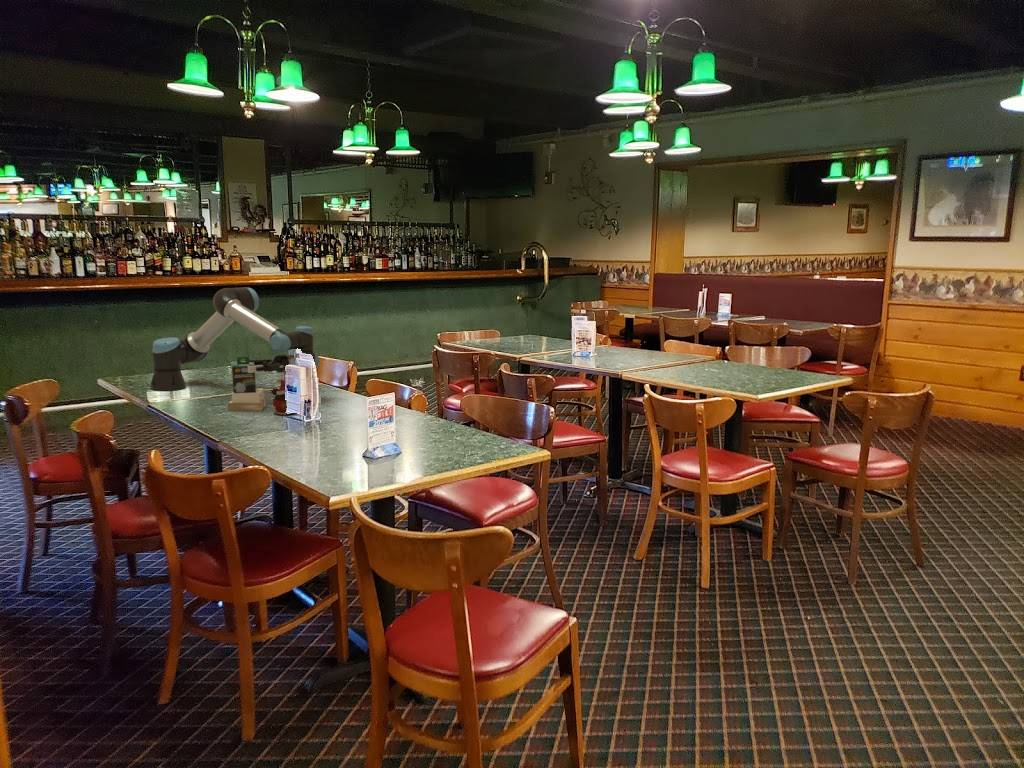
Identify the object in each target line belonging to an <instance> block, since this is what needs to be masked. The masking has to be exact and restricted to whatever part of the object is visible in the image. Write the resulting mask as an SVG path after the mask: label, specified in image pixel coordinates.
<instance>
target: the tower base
mask: <svg viewBox="0 0 1024 768" xmlns="http://www.w3.org/2000/svg"><path fill="white" fill-rule="evenodd" d="M266 406H267V397H265V396H264V398H263V399H262V400H261V402H260V403H232V399H231V400H230V401H228V402H227V412H262V410H264V408H265V407H266Z"/></svg>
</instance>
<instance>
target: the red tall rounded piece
mask: <svg viewBox="0 0 1024 768" xmlns="http://www.w3.org/2000/svg"><path fill="white" fill-rule="evenodd" d="M276 383H277V384H280V386H279V387H273V388H272V389H271V391H270V394H272V395H273V396H274V398H273V399H272V406H273V407H274V409H273V414H275V415H276V414H277V415H280V416H281V415H282V416H287V415H286V414H287V413H285V412H286V408H287V406H286V400H285V370H284V372H283V378H280V377H277V378H276Z"/></svg>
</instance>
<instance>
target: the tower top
mask: <svg viewBox="0 0 1024 768" xmlns="http://www.w3.org/2000/svg"><path fill="white" fill-rule="evenodd" d="M264 397H265V391H264V388H257V387H256V392H246V393H233V391H232V392H231V400H232V403H260V402H261V400H262V399H263V398H264Z"/></svg>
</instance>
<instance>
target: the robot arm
mask: <svg viewBox="0 0 1024 768" xmlns="http://www.w3.org/2000/svg"><path fill="white" fill-rule="evenodd" d="M212 299H213V300H212V303H213V304H212V305H213V308H214V309H215V312H214V313H213V314H212V315H211V316H210V317H209V318H208V319H207V320H206V321H205V322H204V323H203V324H202V325H201V326H200V327H199V328H198V329H197V330H196V331H193V332H192V331H191V332H189V333H188V334H187V335H186V337H184V338H183V339H180V338H178V337H174V336H173V337H172V336H171V337H162V338H158V339H156V340H154V341H153V343H152V349H151V351H152V359H153V361H152V362H153V374H152V377H151V381H150V385H149V387H150V390H152V391H156V392H157V391H158V392H160V391H161V392H168V391H169V392H170V391H171V392H172V391H180V390H184V389H186V384H187V383H186V380H185V378H184V375H183V373H182V366H181V365H184V364H191V363H199V362H200V363H201V362H202V361H204V360H206V359H207V358H208V357H209V355H210V350H211V344H212V343H213V342H214V341H216V339H217V338H218V337H219V336H220V335H221V334H222V333H223V332H225V331H226V329H228V328H229V326H231V325H232V324H233V323H234V322H236V323H238V324H240V326H243V327H245V328H246V329H247V330H248V331H251V332H252V333H254V334H255V335H257V336H258V337H260V338H262V339H264V340H265V341H266V342H268V343H269V346H270V347H271V348H272V350H273V351H275V352H287V351H291V350H292V351H293V350H296V349H297V348H298V349H301V351H302V352H303V353H306V354H311V355H312V356H313V359H314V362H315V365H316V368H315V369H317V368H318V367H319V365H320V358H319V355H318V353H317V352H314V330H313V327H312V326H307V325H306V326H305V325H301V326H300V325H298V326H296V327H295V330H294V331H291V332H287V331H285V330H283V329H281V328H280V327H278V326H277V325H275V324H273V323H272V322H270V321H268V320H267V319H266V318H263V317H262V316H261V315H259V314H257V313H256V311H257V310H258V308H259V306H260V299H259V296H258V293H257V292H256V290H254V289H253V288H251V287H246V286H245V287H244V286H243V287H226V288H225V287H224V288H221V289H219V290H217V292H216V293H215V294H214V296H213V298H212ZM293 354H294V353H288V354H278V355H275V356H274V358H273V359H249V362H254V365H255V366H248V373H254V372H255V373H262V372H264V373H265V372H268V373H272V372H275V371H276V372H277V373H284V370H285V366H286V365H288V364H293V363H294V355H293ZM240 361H241V360H240ZM245 361H246V360H245V359H243V361H241V362H245ZM232 363H237V361H231V362H230V364H231V365H230V366H231V370H232Z"/></svg>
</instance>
